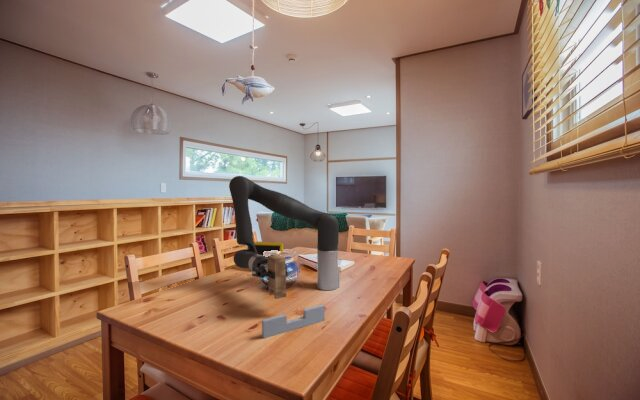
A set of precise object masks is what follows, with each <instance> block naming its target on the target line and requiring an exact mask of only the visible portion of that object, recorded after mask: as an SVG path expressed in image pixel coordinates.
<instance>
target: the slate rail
mask: <svg viewBox="0 0 640 400" xmlns="http://www.w3.org/2000/svg"><path fill="white" fill-rule="evenodd" d="M325 311H326V310H325V305H323V304H319V305H315V306H310V307H307V308H304V309H302V316H300V317H298V318H297V317H296V318H294V319H291V320H287V315H286V314H284V313H283V314H279V315H277V316H272V317H268V318H265V319H264V318H263V319H261V336H262V338H263V339H267V338H270V337H273V336H277V335H280V334H284V333H287V332H290V331H294V330H297V329H300V328H304V327H308V326H310V325H314V324H317V323H321V322H324V321H325V317H326V316H325V314H326V313H325Z"/></svg>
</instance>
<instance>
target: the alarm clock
mask: <svg viewBox="0 0 640 400" xmlns="http://www.w3.org/2000/svg"><path fill="white" fill-rule="evenodd" d="M254 244H255V247H256V250H257V253H258V254H259V255H263V252H264V251H271V250H278V251H281V252H284V243H282V242H274V241H254ZM246 247H247V246H246ZM247 249H248V247H247V248H246V250H247ZM251 271H252V270H250V272H251Z"/></svg>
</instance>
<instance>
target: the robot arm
mask: <svg viewBox="0 0 640 400" xmlns="http://www.w3.org/2000/svg"><path fill="white" fill-rule="evenodd" d="M228 188H229V192H230V196H231V201H232V205H233V210H234V219H235V221H234V222H235V224H234V225H235V235H236V243H237V245H241V246H246V247H248V249H247V248H246V249H241V250H237V251H236V252H235V253H234V255H233V263H234V264H235V266H237V267H238V268H241V269H247V270H250V271H251V270H252V272H251V276H252V277H256V278H261V279H265V278H267V279H268V277H269V278H272V279H275V273H274V272H272V271H269V269H268V257H265V256H263V255H259V254H258V253H257V250H256V247H255V244H254V242H255V241H254V234H253V226H252V225H253V223H252V218H251V215H250V207H249V200H250V201H253V202H256V203H258V204H260V205H262V206H263V207H265V208H267V210H270V211H271V212H274V213H275V214H277V215H280V216H282V217H285V218H286V219H289V220H290V219H291V220H294V221H296V222H297V221H298V222H301V223H305V224H307V225H310V226H311V227H312V228H313V227H314V228H316V229H317V262H316V263H317V266H316V267H317V271H316V273H317V275H316V276H317V277H316V279H317V280H316V281H317V282H316V283H317V289H319V290H321V291H322V290H323V291H333V290H336V289H338V288H340V266H339V263H338V262H339V260H338V259H339V256H338V254H339V253H338V252H339V250H338V249H339V234H340V233H339V230H340V229H339V228H340V227H339V221H338V219H337V217H335V216H334V215H333V214H330V213H326V212H323V211H320V210H317V209H314V208H312V207H310V206H309V205H307V204H305V203H303V202H302V201H300V200H297V199H296V198H294V197H292V196H289V195H287V194H285V193H282V192H279V191H275V190H272V189H268V188H265V187H263V186H261V185H259V184H258V183H256V182H254V181H252V180H250V179H249V178H247V177H245V176H244V175H243V176H242V175H236V176H234V177H232V179H230V182H229V185H228ZM285 269H286V278H287V277H288V266H287V264H286V263H285Z"/></svg>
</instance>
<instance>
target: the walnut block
mask: <svg viewBox="0 0 640 400" xmlns="http://www.w3.org/2000/svg"><path fill="white" fill-rule="evenodd" d="M285 264H286V257H285V256H283V255H282V256H280V255H271V256H268V269H269V271H272V272H274V273H275V279H272V278H269V277H268V278H267V279H268V282H267V283H268V295H270V296H273V298H274V299H275V300H279V299H283V298H286V297H287V277H286V269H285Z"/></svg>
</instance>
